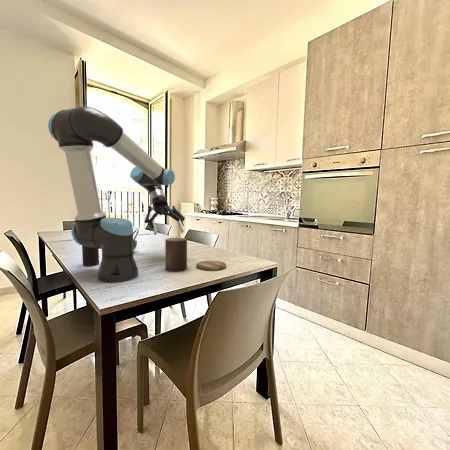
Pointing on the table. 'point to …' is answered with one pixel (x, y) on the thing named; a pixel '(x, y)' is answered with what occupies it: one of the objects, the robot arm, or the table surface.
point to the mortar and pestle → (134, 244)
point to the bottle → (90, 256)
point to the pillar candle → (176, 254)
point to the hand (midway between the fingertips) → (169, 232)
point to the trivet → (211, 265)
